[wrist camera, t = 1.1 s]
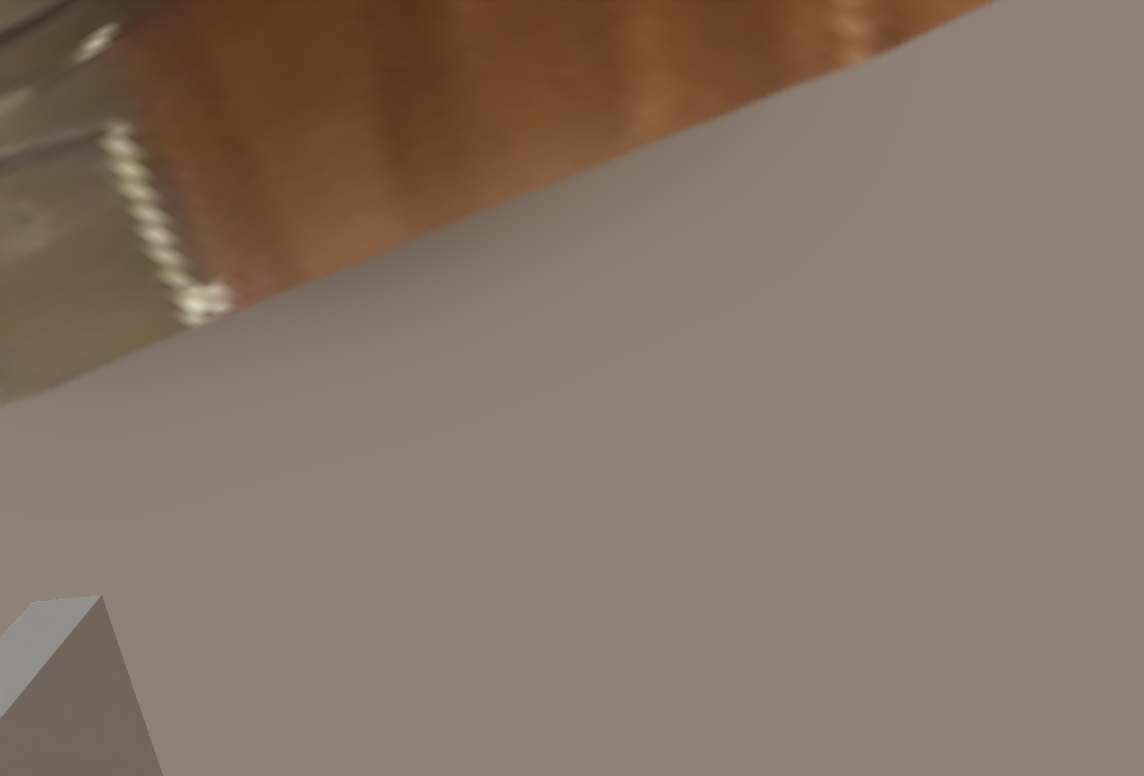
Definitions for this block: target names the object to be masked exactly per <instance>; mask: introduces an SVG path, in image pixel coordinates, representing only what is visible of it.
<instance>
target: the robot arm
mask: <svg viewBox="0 0 1144 776" xmlns="http://www.w3.org/2000/svg"><path fill="white" fill-rule="evenodd" d="M0 776H163V775H162V772H161V769H160V766H159V763H158V760H157V757H156V754H155V751H154V748H153V745H152V742H151V739H150V736H149V733H148V731H147V728H146V724H145V721H144V719H143V716H142V713H141V710H140V707H139V704H138V701H137V698H136V695H135V692H134V689H133V686H132V683H131V680H130V677H129V674H128V671H127V668H126V665H125V662H124V659H123V656H122V654H121V651H120V648H119V645H118V642H117V639H116V636H115V633H114V630H113V627H112V624H111V621H110V618H109V615H108V612H107V610H106V606H105V603H104V600H103V597H102V595H95V596H84V597H74V598H64V599H55V600H44V601H34V602H32V603H31V604H30V605H29V606H28V607H27V609H26V610H25V611H24V612H23V613H22V614H21V615H20V616H19V617H18V618H17V619H16V620H15V621H14V622H13V623H12V625H11V626H10V627H9V628H8V629H7V630H6V631H5V632H4V633H3V634H2V635H1V636H0Z"/></svg>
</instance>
